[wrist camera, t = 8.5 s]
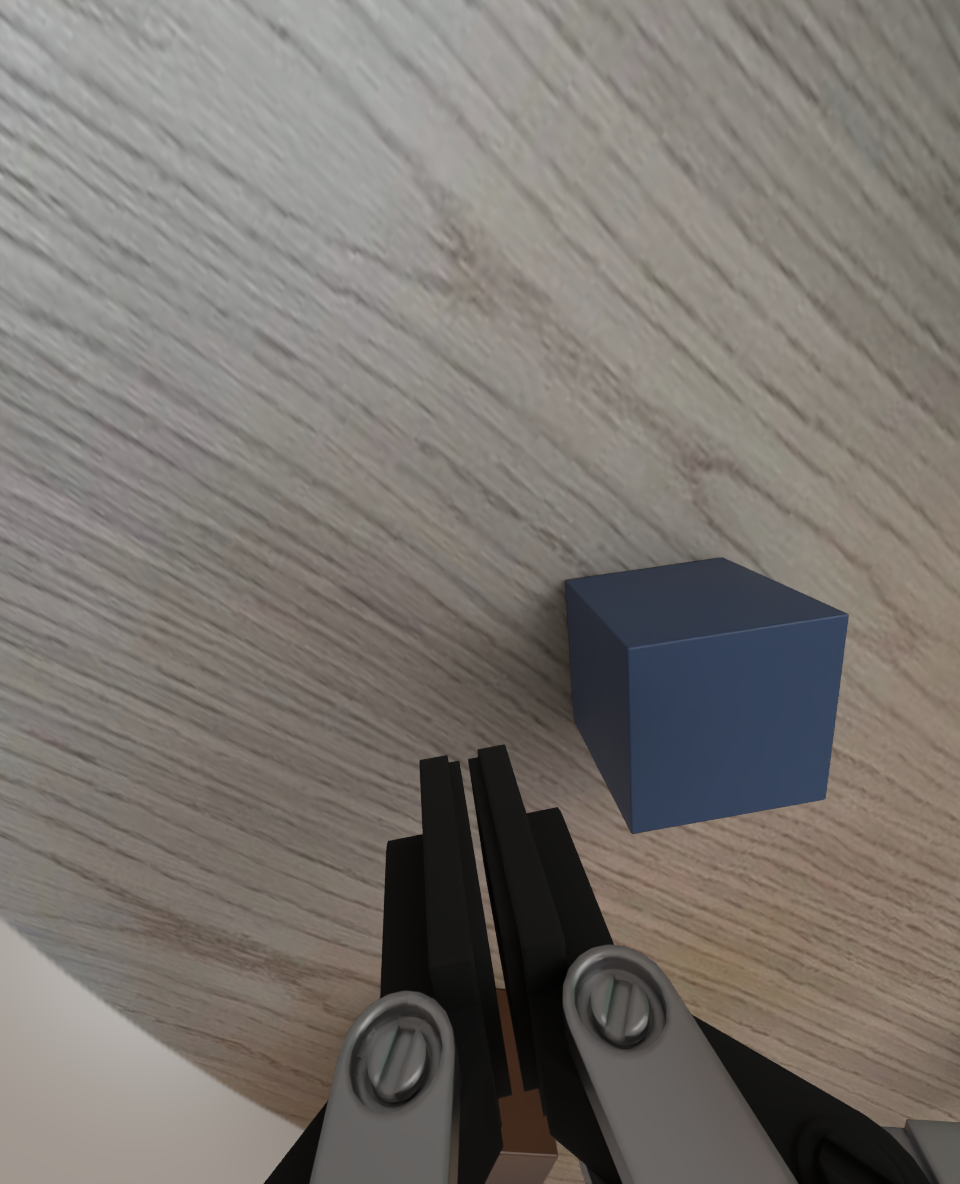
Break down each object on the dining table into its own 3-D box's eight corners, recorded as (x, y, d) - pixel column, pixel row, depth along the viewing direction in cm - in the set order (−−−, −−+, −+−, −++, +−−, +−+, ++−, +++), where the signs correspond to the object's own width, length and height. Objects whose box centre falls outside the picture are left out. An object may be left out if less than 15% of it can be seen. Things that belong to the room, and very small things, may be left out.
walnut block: (489, 1073, 22) (507, 1248, 18) (375, 1063, 21) (363, 1245, 17) (528, 992, 21) (559, 1156, 16) (409, 977, 20) (405, 1148, 15)
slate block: (573, 721, 17) (631, 835, 13) (564, 579, 16) (627, 648, 11) (717, 698, 18) (826, 800, 13) (722, 556, 16) (850, 613, 11)
